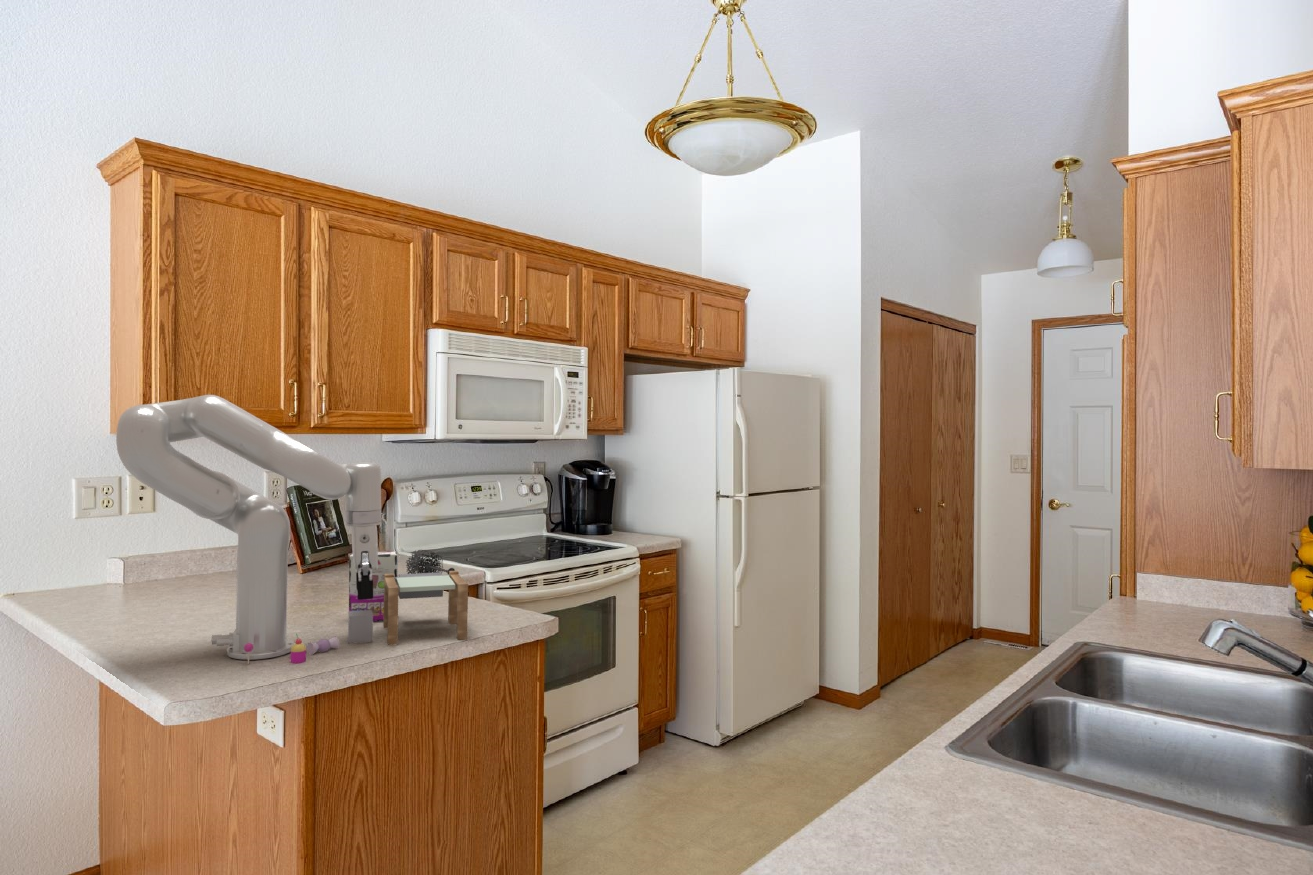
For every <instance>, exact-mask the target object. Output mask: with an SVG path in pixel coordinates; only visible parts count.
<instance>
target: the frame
mask: <svg viewBox="0 0 1313 875" xmlns="http://www.w3.org/2000/svg"><path fill="white" fill-rule="evenodd" d="M449 575H450V578H451V579H452V581H453V582H454V584H455V589H448V602H447V603H448V604H447V605H448V607H447V608H448V609H447V612H448V614H447V622H448V624H449V625H450V624H451V625H452V624H456V638H457V641H458V640H459V641H461V640H467V639H468V613H469V612H468V610H469V606H468V605H469V583H468V582H465V581H464V579H463V578H462V576H461V575H460V574H459V571H458V570H455V571H449ZM398 591H399V588H398V586H397V584H396V582H395V579H394V574H384V621H383V623H382V624H383V629H387V634H386V635H387V640H386V641H387V642H386V643H387V646H395V645H398V633H399V632H398V631H399V630H398V629H399V628H398V627H399V596H398Z"/></svg>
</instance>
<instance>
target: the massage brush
mask: <svg viewBox="0 0 1313 875" xmlns="http://www.w3.org/2000/svg"><path fill="white" fill-rule="evenodd" d="M410 555H411V556H408V558H407V559H406V561H405V564H406V567H405V568H406V573H407V574H417V573H439V572H441V574H442V573H443V572H444V573H447V574H446V575H449V571H456V570H455V568H454V567H450V568H448V569H444V566H443V564H442V563H443V562H444V561H443V558H442V556H441V555H439V554H438V553H436V552H434V551H430V550H426V549H417V550H414V551H412V553H411V554H410Z"/></svg>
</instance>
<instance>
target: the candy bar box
mask: <svg viewBox="0 0 1313 875" xmlns="http://www.w3.org/2000/svg"><path fill="white" fill-rule="evenodd" d="M398 555H399V552H398V551H378V569H377V570H375V568H372V580H373V598H372V599H362V600H359V599H358V591H357V588H356V573H358V572H357V571H356V570H355V566H354V561H353V553H352V552H351V553H350V555H349V558H348V561H349V562H348V569H349V570H348V611H363V610H372V612H373V622H384V574H394V579H395V577H399V574H398V572H399V571H398V570H399V568H398V567H399V565H398V564H399V561H398V560H399V559H398V558H399V557H398ZM396 584H397V583H396ZM397 586H398V585H397Z"/></svg>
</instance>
